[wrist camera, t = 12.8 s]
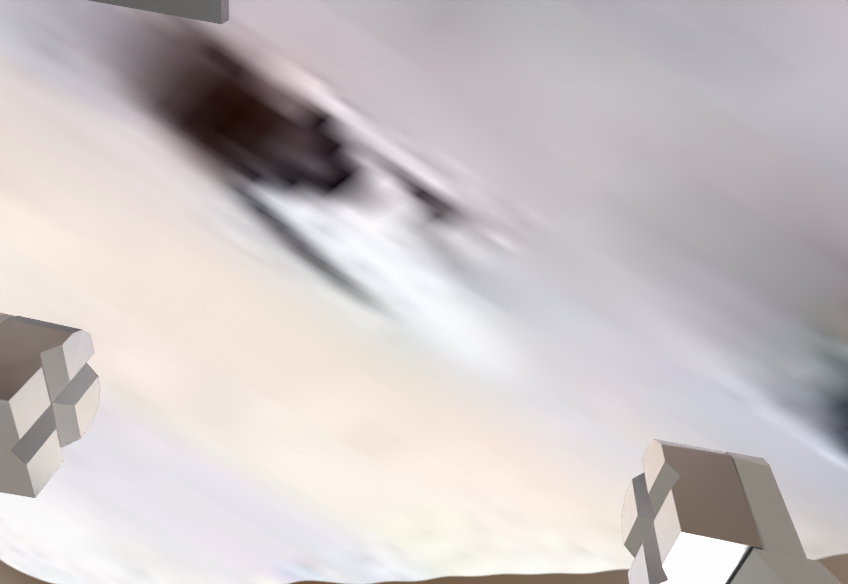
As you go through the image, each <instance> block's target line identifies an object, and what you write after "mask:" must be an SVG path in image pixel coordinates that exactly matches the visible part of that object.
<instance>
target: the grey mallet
mask: <svg viewBox="0 0 848 584" xmlns="http://www.w3.org/2000/svg"><path fill="white" fill-rule="evenodd" d="M90 1H96V2H101V3H107V4H112V5H118V6H124V7H129V8H135V9H140V10H146V11H151V12H157V13H163V14H168V15H174V16H179V17H185V18H190V19H196V20H201V21H207V22H213V23H218V24H223V23H224V22H226V21H228V20H229V16H228V0H90Z"/></svg>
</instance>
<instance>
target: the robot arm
mask: <svg viewBox="0 0 848 584" xmlns="http://www.w3.org/2000/svg"><path fill="white" fill-rule="evenodd" d="M93 354H94V348H93V344H92V339H91V335H90V334H89V333H87V332H85V331H84V330H81V329H77V328H72V327H67V326H63V325H58V324H53V323H49V322H44V321H40V320H35V319H30V318H26V317H21V316H12V315H8V314H3V313H0V492H3V493H9V494H15V495H21V496H27V497H33V498H36V497H37V495H38V494H39V493H40V491H41V490H42V489H43V487H44V486H45V485H46V483H47V482H48V481H49V480H50V478H51V477H52V476H53V474H54V473H55V472H56V470H57V469H58V468H59V466H60V465H61V464H62V463H63V456H62V447H64V446H66V445H68V444H70V443H72V442H74V441H76V440H78V439H80V438H81V437H82V436H83V435H84V433H85V432H86V430H87V429H88V428H89V426H90V425H91V423H92V421H93V418H94V416H95V413H96V411H97V408H98V405H99V399H100V383H99V377H98V375H97V374H96V373H95V372H94V371H93V369H92V368H91V367H90V366H89V365H88V364H87V363H86V362H87V361H88V360H89V358H90V357H91V356H92V355H93ZM642 462H643V467H644V473H642V474H641V475H639V476H637V477H635V478H633V479H632V480H631V483H630V485H629V488H628V490H627V493H626V495H625V500H624V505H623V511H622V534H623V542H624V545H625V547H626V548H627V549H628V550H629V552H630V553H631V554H632V555H633V557H634V558H635V559H634V561H633V563H632V565H631V567H630V569H629V571H628V577H629V584H842V583H841V582H840V581H839V580H838V579H837V578H836V577H835V576H834V575H833V574H832V573H830V572H829V571H828V570H827V569H826V568H825V567H824V566H823V565H822V564H821V563H820V562H819V561H815V560H810V559H807V557H806V554H805V552H804V550H803V547H802V545H801V542H800V540H799V537H798V535H797V532H796V530H795V527H794V525H793V522H792V520H791V517H790V515H789V513H788V510H787V508H786V505H785V503H784V500H783V498H782V495H781V493H780V490H779V488H778V485H777V483H776V480H775V478H774V476H773V473H772V471H771V468H770V466H769V464H768V463H767V462H766V461H765V460H764V459H763V458H758V457H753V456H747V455H741V454H736V453H730V452H725V453H724V452H721V451H716V450H711V449H705V448H700V447H694V446H689V445H683V444H678V443H673V442H667V441H662V440H656V439H654V440H653V441H652V442H651V443H650V444H649V445H648V446H647V448H646V450H645V452H644V454H643V456H642Z"/></svg>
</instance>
